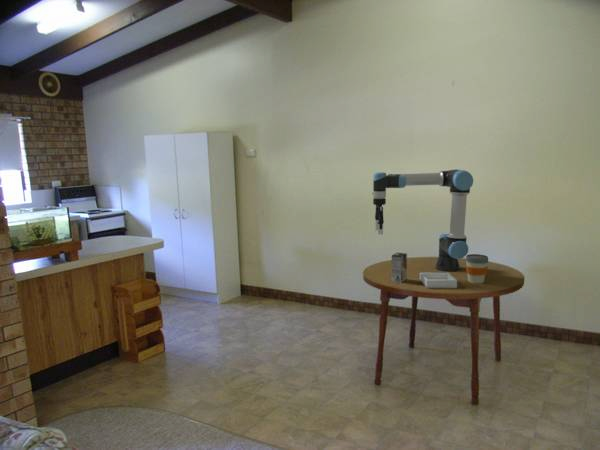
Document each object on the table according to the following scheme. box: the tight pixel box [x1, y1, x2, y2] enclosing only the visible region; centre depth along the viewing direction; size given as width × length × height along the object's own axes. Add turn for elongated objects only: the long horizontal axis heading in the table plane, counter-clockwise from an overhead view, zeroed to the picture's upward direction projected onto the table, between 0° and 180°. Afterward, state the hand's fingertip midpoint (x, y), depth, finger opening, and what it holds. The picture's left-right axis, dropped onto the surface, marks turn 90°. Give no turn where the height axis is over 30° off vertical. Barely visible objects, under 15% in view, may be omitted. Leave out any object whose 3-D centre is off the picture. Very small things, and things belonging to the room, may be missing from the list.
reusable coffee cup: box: [465, 253, 489, 284], centre depth 283 cm, size 12×13×15 cm
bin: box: [419, 271, 458, 289], centre depth 279 cm, size 17×17×4 cm
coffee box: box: [390, 252, 408, 283], centre depth 286 cm, size 9×6×16 cm
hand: (379, 232), depth 295 cm, fingers open, 13 cm apart
